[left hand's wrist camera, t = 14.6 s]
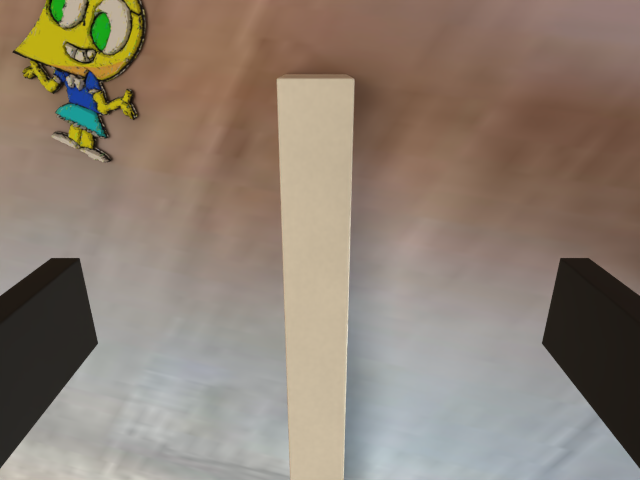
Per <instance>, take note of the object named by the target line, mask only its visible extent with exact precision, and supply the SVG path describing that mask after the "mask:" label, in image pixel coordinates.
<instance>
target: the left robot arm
mask: <svg viewBox="0 0 640 480" xmlns="http://www.w3.org/2000/svg"><path fill="white" fill-rule="evenodd" d="M97 344H98V341H97V336H96V332H95V327H94V323H93V318H92V313H91V309H90V304H89V300H88V295H87V290H86V286H85V281H84V277H83V272H82V267H81V263H80V258H51V259H50V260H48V261H47V262H46V263H44V264H43V265H42V266H40V267H39V268H37V269H36V270H35V271H33V272H32V273H31V274H29V275H28V276H27V277H25V278H24V279H23V280H21V281H20V282H19V283H17V284H16V285H14V286H13V287H12V288H10V289H9V290H8V291H6V292H5V293H4V294H2V295H1V296H0V468H1V467H2V465H3V464H4V463H5V462H6V460H7V459H8V458H9V457H10V455H11V454H12V453H13V451H14V450H15V449H16V448H17V446H18V445H19V444H20V442H21V441H22V440H23V439H24V437H25V436H26V435H27V434H28V432H29V431H30V430H31V428H32V427H33V426H34V425H35V423H36V422H37V421H38V419H39V418H40V417H41V416H42V414H43V413H44V412H45V410H46V409H47V408H48V407H49V405H50V404H51V403H52V402H53V400H54V399H55V398H56V396H57V395H58V394H59V393H60V391H61V390H62V389H63V387H64V386H65V385H66V384H67V382H68V381H69V380H70V379H71V377H72V376H73V375H74V373H75V372H76V371H77V370H78V368H79V367H80V366H81V364H82V363H83V362H84V361H85V359H86V358H87V357H88V355H89V354H90V353H91V352H92V350H93V349H94V348H95V347H96V345H97ZM542 344H543V345H544V347H545V348H546V349H547V350H548V352H549V353H550V354H551V355H552V357H553V358H554V359H555V361H556V362H557V363H558V364H559V366H560V367H561V368H562V370H563V371H564V372H565V373H566V375H567V376H568V377H569V379H570V380H571V381H572V382H573V384H574V385H575V386H576V387H577V389H578V390H579V391H580V393H581V394H582V395H583V396H584V398H585V399H586V400H587V402H588V403H589V404H590V405H591V407H592V408H593V409H594V410H595V412H596V413H597V414H598V416H599V417H600V418H601V419H602V421H603V422H604V423H605V425H606V426H607V427H608V428H609V430H610V431H611V432H612V434H613V435H614V436H615V437H616V439H617V440H618V441H619V442H620V444H621V445H622V446H623V448H624V449H625V450H626V451H627V453H628V454H629V455H630V457H631V458H632V459H633V460H634V462H635V463H636V464H637V465H638V467H639V468H640V296H639V295H638V294H636V293H635V292H634V291H632V290H631V289H630V288H628V287H627V286H626V285H624V284H623V283H621V282H620V281H619V280H617V279H616V278H615V277H613V276H612V275H611V274H609V273H608V272H607V271H605V270H604V269H603V268H601V267H600V266H598V265H597V264H596V263H594V262H593V261H592V260H590V259H589V258H560V263H559V267H558V272H557V277H556V281H555V286H554V290H553V295H552V300H551V304H550V309H549V313H548V318H547V323H546V327H545V332H544V336H543V341H542Z"/></svg>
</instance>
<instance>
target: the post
mask: <svg viewBox="0 0 640 480" xmlns="http://www.w3.org/2000/svg"><path fill="white" fill-rule="evenodd" d="M354 82H355V80H354V78H352V77H350V76H349V75H347V74H284V75H283V76H281V77H279V78H277V104H278V134H279V163H280V193H281V222H282V252H283V281H284V311H285V340H286V369H287V399H288V428H289V458H290V480H344V445H345V409H346V372H347V336H348V300H349V263H350V227H351V191H352V154H353V118H354Z"/></svg>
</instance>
